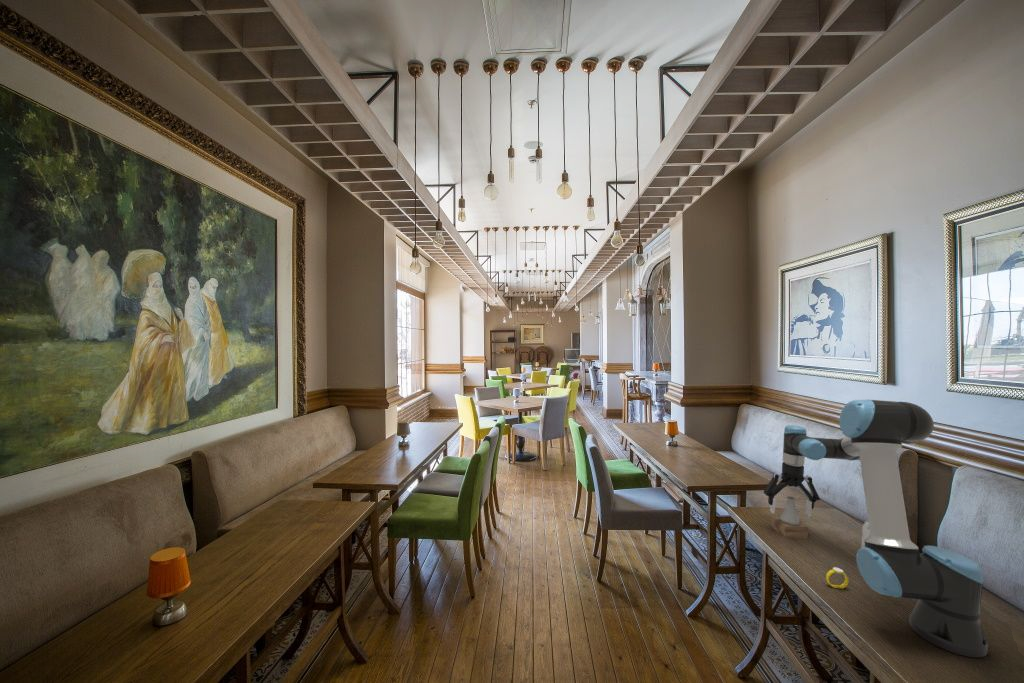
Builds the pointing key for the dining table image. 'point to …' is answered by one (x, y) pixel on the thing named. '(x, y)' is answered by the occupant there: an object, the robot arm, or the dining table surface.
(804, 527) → the stacked wooden planks
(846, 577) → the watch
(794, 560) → the dining table surface
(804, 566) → the dining table surface
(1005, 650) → the dining table surface
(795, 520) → the flask
